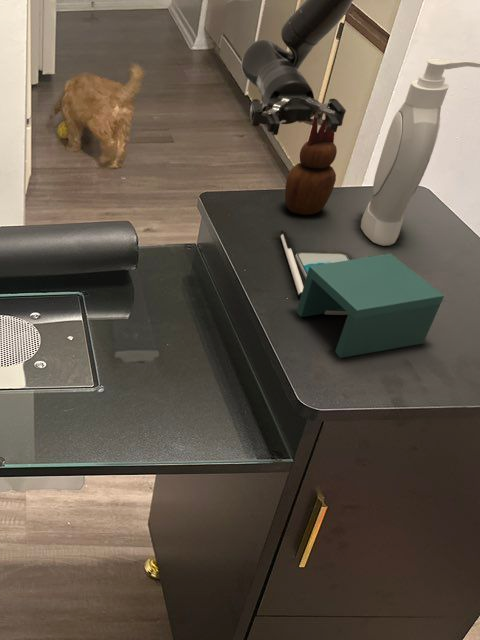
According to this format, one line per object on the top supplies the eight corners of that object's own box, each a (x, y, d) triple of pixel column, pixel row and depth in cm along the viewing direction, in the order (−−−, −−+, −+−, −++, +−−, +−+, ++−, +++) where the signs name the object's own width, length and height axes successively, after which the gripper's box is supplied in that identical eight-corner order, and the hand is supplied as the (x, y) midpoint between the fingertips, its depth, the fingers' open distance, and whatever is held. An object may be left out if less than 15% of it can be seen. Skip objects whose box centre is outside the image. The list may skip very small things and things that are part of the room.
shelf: (373, 299, 96) (390, 253, 91) (423, 343, 88) (444, 295, 84) (295, 312, 94) (309, 266, 90) (340, 358, 87) (357, 310, 82)
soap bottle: (424, 254, 103) (495, 78, 87) (365, 250, 105) (424, 76, 89) (408, 212, 113) (470, 46, 97) (354, 209, 114) (406, 45, 99)
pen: (284, 234, 110) (286, 227, 109) (307, 305, 95) (309, 297, 95) (278, 234, 110) (280, 227, 109) (300, 304, 96) (302, 297, 95)
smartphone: (346, 252, 104) (381, 312, 93) (344, 258, 105) (379, 318, 93) (294, 251, 105) (323, 310, 93) (292, 256, 105) (321, 316, 94)
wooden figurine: (281, 217, 114) (305, 122, 104) (278, 200, 118) (301, 108, 108) (327, 220, 112) (356, 124, 102) (323, 203, 116) (350, 109, 107)
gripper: (247, 72, 127) (263, 106, 115) (333, 71, 125) (358, 105, 113) (239, 115, 132) (253, 151, 120) (322, 115, 130) (345, 152, 118)
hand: (304, 129), depth 116 cm, fingers open, 8 cm apart
